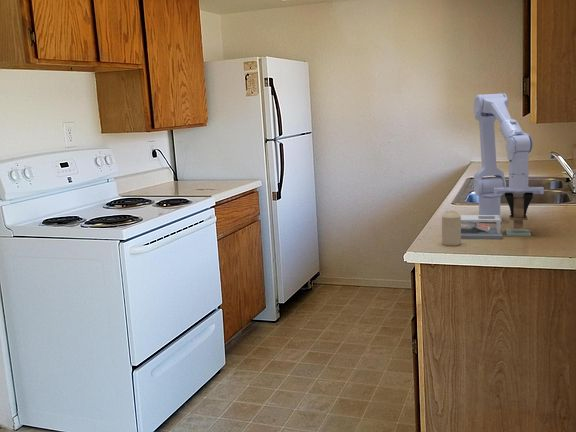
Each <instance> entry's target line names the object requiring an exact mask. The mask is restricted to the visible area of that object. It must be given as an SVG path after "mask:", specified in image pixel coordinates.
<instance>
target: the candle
mask: <svg viewBox="0 0 576 432" xmlns="http://www.w3.org/2000/svg"><path fill="white" fill-rule="evenodd" d="M460 215H461V214H459V212H458V211H454V210H450V211H445V212H444V213H443V215H442V216H441V244H442V245H443V246H447V247H448V246H451V247H452V246H459V245H461V244H462V239H461V226H462V223H461V216H460Z"/></svg>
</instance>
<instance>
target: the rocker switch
mask: <svg viewBox="0 0 576 432" xmlns="http://www.w3.org/2000/svg"><path fill="white" fill-rule="evenodd" d="M462 224H463V225H465V226H471V227H474V228H477V229H480V230H483V231H486V232H489V230H490V228H489V227H488V226H489V225H485V224H482V223H481V222H461V225H462Z"/></svg>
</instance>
